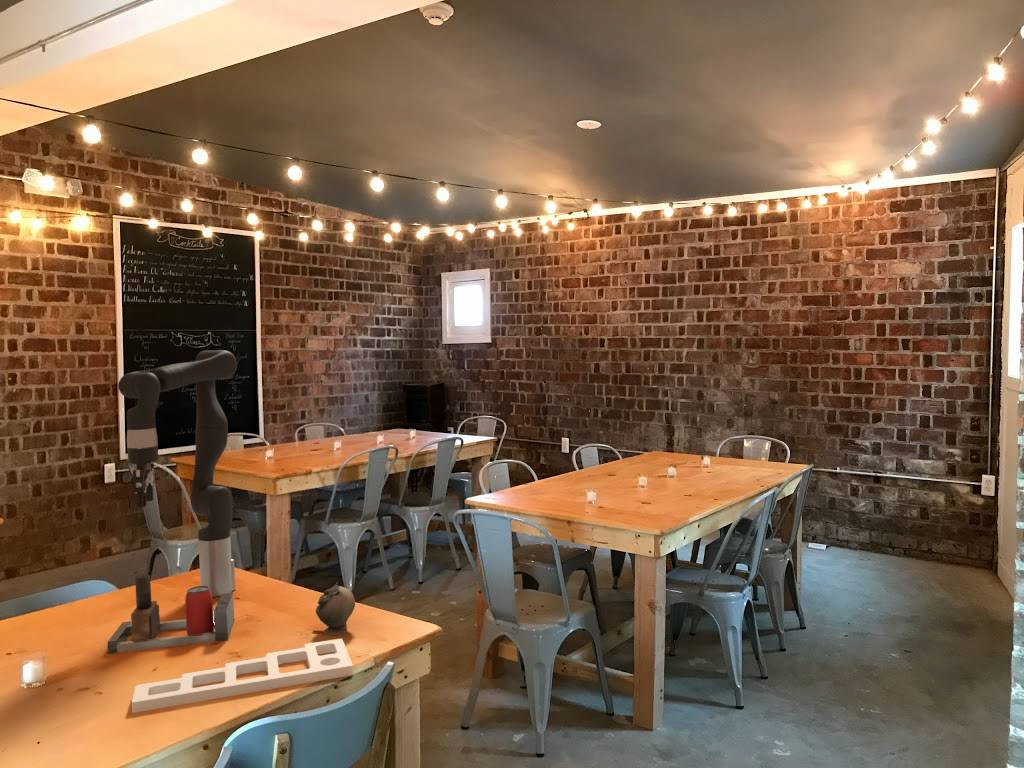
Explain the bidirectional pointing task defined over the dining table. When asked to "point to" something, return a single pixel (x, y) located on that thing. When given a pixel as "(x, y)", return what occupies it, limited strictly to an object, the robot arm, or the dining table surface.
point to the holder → (184, 692)
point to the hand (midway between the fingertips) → (145, 503)
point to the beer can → (199, 610)
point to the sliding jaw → (144, 611)
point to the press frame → (221, 619)
